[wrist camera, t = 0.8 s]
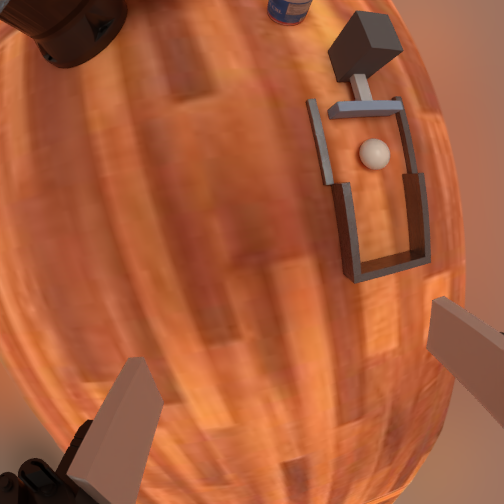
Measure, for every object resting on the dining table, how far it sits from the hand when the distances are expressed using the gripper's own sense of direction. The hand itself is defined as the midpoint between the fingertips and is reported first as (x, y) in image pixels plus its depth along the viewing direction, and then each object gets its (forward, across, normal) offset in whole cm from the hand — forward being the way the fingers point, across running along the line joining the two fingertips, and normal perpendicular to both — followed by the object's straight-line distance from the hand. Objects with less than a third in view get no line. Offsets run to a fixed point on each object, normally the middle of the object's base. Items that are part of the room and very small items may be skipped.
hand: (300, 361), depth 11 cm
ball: (+23, +16, +9) cm, 29 cm away
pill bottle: (+25, +9, +32) cm, 42 cm away
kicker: (+24, +16, +20) cm, 35 cm away
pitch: (+25, +16, +6) cm, 30 cm away
